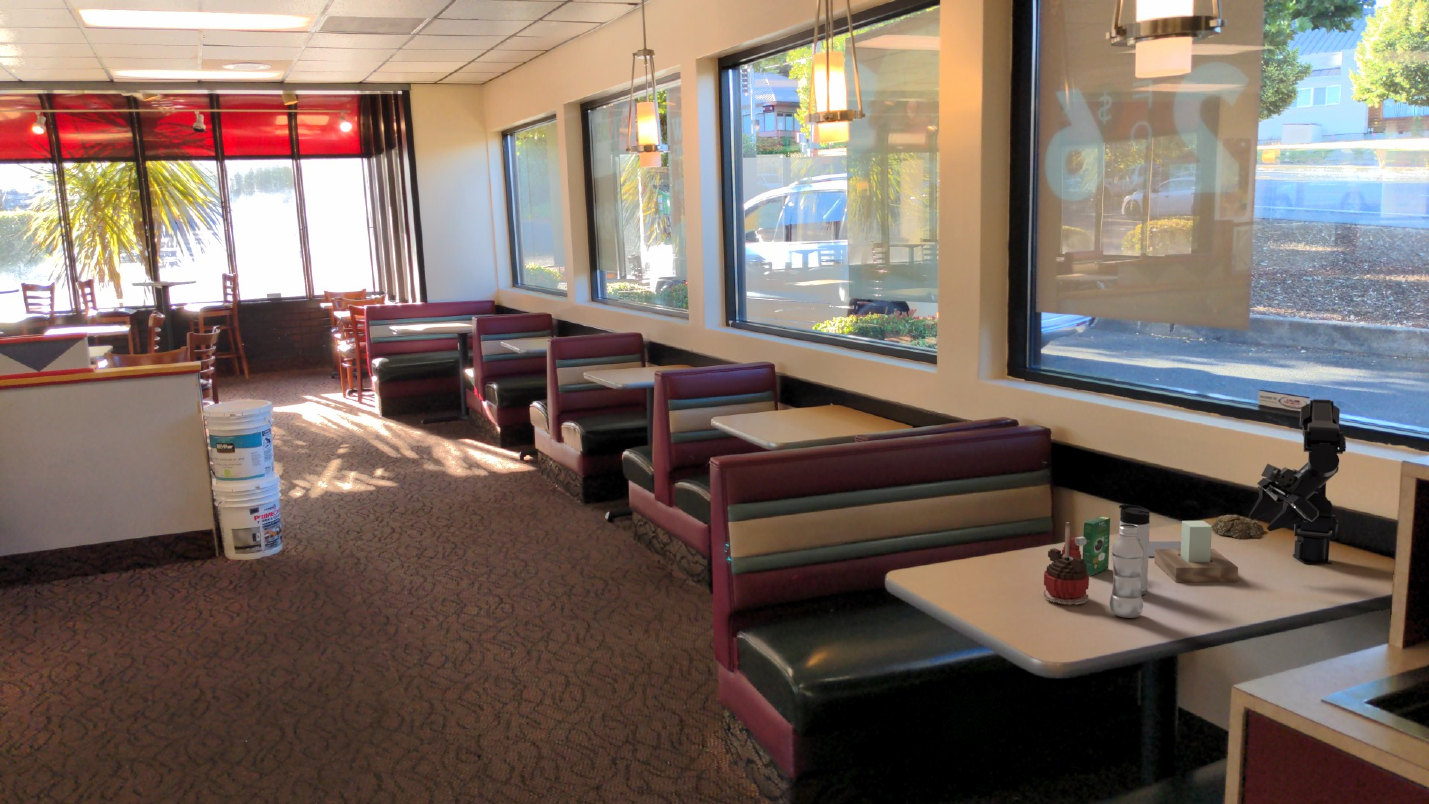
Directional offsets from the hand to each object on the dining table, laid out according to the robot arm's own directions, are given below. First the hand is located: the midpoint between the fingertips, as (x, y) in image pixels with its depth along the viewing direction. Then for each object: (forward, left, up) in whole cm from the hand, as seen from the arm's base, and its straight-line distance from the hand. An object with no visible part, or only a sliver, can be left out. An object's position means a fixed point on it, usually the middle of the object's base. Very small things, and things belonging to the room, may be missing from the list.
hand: (1258, 524), depth 238 cm
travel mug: (+31, +7, -14) cm, 34 cm away
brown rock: (-12, -38, -14) cm, 42 cm away
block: (+12, -6, -14) cm, 19 cm away
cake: (+47, +12, -14) cm, 50 cm away
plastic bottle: (+37, +22, -14) cm, 45 cm away
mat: (+13, -23, -14) cm, 29 cm away
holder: (+12, -6, -14) cm, 19 cm away
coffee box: (+35, -7, -14) cm, 38 cm away
